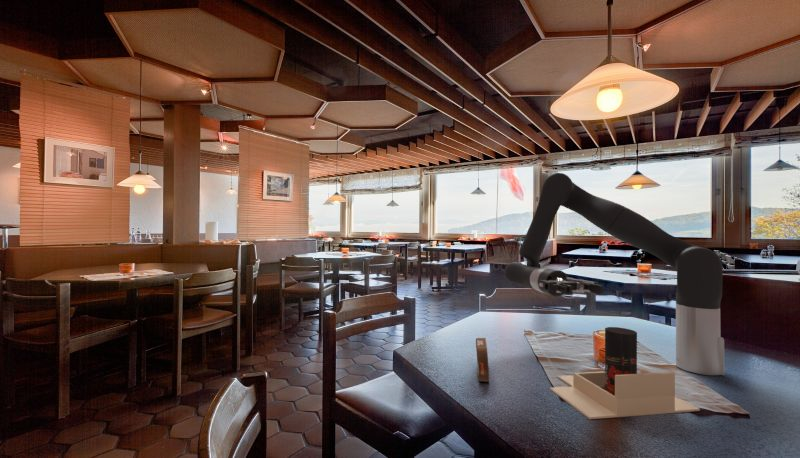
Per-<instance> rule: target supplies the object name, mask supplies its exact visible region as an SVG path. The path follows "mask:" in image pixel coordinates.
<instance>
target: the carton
mask: <svg viewBox="0 0 800 458" xmlns="http://www.w3.org/2000/svg"><path fill="white" fill-rule="evenodd" d="M557 379H559V380H560V381H562V382H564V383H565V384H566V385H568V386H557V387H549V390H550V391H551V392H553V394H555V395H557V396H558V397H559V398H561V399H562V400H563V401H564V402H565V403H567V404H569V405H570V406H571V407H573V408H574V409H575V410H577V411H578V412H579V413H580V414H582V415H583V416H585V417H586V418H587V419H589V420H598V419H610V418H612V419H613V418H624V417H626V418H627V417H637V416H651V415H663V414H676V413H687V412H688V413H690V412H700V411H701V408H699V407H697V406H695V405H692V404H690V403H689V402H687V401H685V400H683V399H680V398H679V397H676V383H675V382H676V373H675V372H674V371H667V372H665V371H663V372H649V373H647V372H646V373H637V374H624V375H615V396H614V395H612V394H611V393H609V392H607V391H606V390H605V370H603V371H588V372H587V371H586V372H573V374H572V375H571V374H570V375H558V376H557Z"/></svg>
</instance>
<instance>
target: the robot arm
mask: <svg viewBox="0 0 800 458" xmlns="http://www.w3.org/2000/svg"><path fill="white" fill-rule="evenodd" d="M561 207H564V208H567V209H569V210H571V211H573V212H575V213H577V214H578V215H581V216H582V217H583V218H584V219H586V220H587V221H588V222H590V223H591V224H592V225H593V226H594V225H595V227H598V229H601V230H602V231H603V232H606V233H607V234H609V235H610V236H611V237H614V238H616V239H617V240H619V241H622V242H624V243H625V244H628V245H630V246H632V247H635V248H637V249H638V250H639V249H640V251H641V250H642V251H643V252H644V251H645V252H646V253H649V254H651V255H653V256H655V257H657V258H658V259H659V260H661V261H663V263H666V264H667V265H669V266H670V267H671V268H673V269H674V270H676V293H675V366H677V367H678V368H679V369H681V370H683V371H686V372H690V373H694V374H698V375H705V376H725V339H724V337H722V336H721V302H722V297H723V276H724V275H723V273H724V272H723V263H722V259H721V257H720V256H719V255H718V254H717V253H716V252H715V251H713V250H712V249H709V248H707V247H701V246H697V245H695V244H693V243H690V242H687V241H685V240H683V239H680V238H678V237H676V236H674V235H672V234H670V233H668V232H666V231H665V230H664V229H662V228H661V227H659V226H658V225H656V224H655V223H654V222H652V221H651V220H649V218H646V217H645V216H644V215H641V214H639V213H638V212H637V211H634V210H632V209H630V208H628V207H626V206H624V205H622V204H620V203H618V202H614V201H611V200H608V199H606V198H602V197H599V196H596V195H594V194H592V193H590V192H588V191H586V190H585V189H584V188H583V187H582V188H581V187H580V186H579V185H578V184H576V183H575V182H573V181H572V179H571V178H570V177H569V176H568V175H567V174H565V173H563V172H555V173H551V174H550V175H548V176H547V177H546V178H545V180H544V181H543V183H542V187H541V191H540V196H539V200H538V203H537V206H536V208H535V212H534V215H533V217H532V220H531V223H530V225H529V227H528V230H527V231H526V234H525V236H524V239H523V240H522V243H521V245H520V248H519V250H518V255H520V256H521V258H524V259H525V260H526V264H524V263H522V262H521V263H520V262H518V261H513V262H510V263H508V264H507V265H506V266H505V268H504V271H503V273H504V277H505V279H506V280H507V281H508V282H509V283H513V284H516V285H518V286H521V287H523V288H530V289H531V290H535V291H538V292H540V293H542V294H545V295H549V296H551V297H561V296H564V295H565V294H566V295H572V294H573V293H577V294H578V293H579V294H582V293H583V294H584V293H591V294H592V293H593V294H597V295H603V294H604V287H603V285H601V284H599V282H597V281H592V280H591V281H590V280H584V279H577V278H573V277H569V276H568V275H567V273H566V272H564V271H562V270H558V269H554V268H553V269H552V268H548V267H539V266H540V260H541V256H542V254H543V252H544V250H545V248H546V245H547V243H548V241H549V240H548V239H549V236H550V234H551V233H550V232H551V229H552V225H553V223H554V220H555V217H556V215H557V214H558V211H559V209H560V208H561ZM578 287H579V289H578Z"/></svg>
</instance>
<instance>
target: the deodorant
mask: <svg viewBox="0 0 800 458" xmlns="http://www.w3.org/2000/svg"><path fill="white" fill-rule="evenodd" d="M604 371H605V387H604V390H606V391H607V392H609V393H611V394H612V395H614V396H615V375H624V374H638V332H637V331H635V330H632V329H629V328H625V327H616V326H614V327H613V326H608V327H605V329H604Z"/></svg>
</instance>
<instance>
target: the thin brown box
mask: <svg viewBox="0 0 800 458" xmlns="http://www.w3.org/2000/svg"><path fill="white" fill-rule="evenodd" d="M475 348H476V349H475V350H476V364H477V378H478V382H481V383H482V382H483V383H490V370H489V369H490V368H489V355H488V353H489V352H488V346H487V340H486V337H476V339H475Z"/></svg>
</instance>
